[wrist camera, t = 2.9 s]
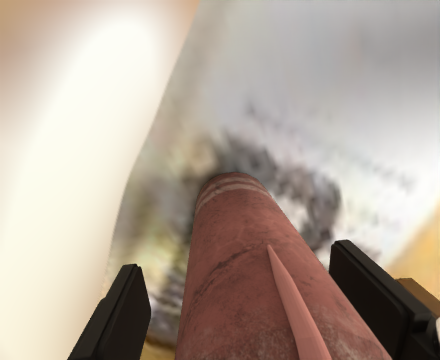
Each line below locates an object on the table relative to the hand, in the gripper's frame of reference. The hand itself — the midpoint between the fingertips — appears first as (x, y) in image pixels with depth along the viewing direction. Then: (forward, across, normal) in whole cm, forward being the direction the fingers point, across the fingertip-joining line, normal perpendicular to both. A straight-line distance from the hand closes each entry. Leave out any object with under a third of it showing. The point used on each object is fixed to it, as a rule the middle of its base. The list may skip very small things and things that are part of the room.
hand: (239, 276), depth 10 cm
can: (+8, -1, 0) cm, 8 cm away
